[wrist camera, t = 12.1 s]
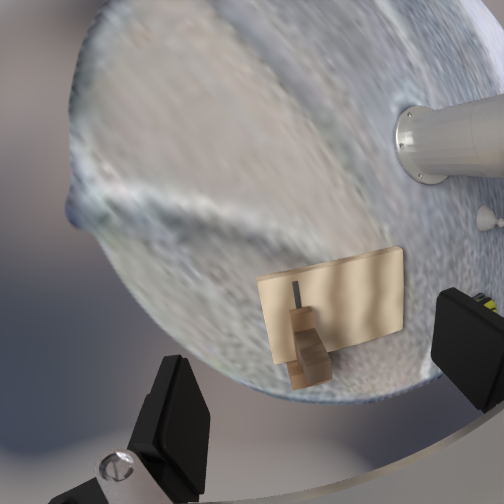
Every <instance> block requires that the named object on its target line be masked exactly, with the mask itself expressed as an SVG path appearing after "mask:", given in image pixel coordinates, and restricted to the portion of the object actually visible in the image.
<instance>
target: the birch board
mask: <svg viewBox="0 0 504 504" xmlns="http://www.w3.org/2000/svg"><path fill="white" fill-rule="evenodd" d="M256 279H257V285H258V289H259V294H260V299H261V304H262V309H263V313H264V318H265V323H266V328H267V333H268V338H269V342H270V347H271V352H272V357H273V362H274V365H275V364H280V363H285V362H289V361H294V360H297V359H296V352H295V346H294V340H293V333H292V327H291V321H290V315H289V310H293V309H298V308H302V307H307V306H310V307H311V309H312V311H313V316H314V324H315V329H316V331H317V333H318V335H319V337H320V339H321V341H322V343H323V345H324V347H325V349H326V351H327V352H331V351H335V350H338V349H342V348H345V347H349V346H352V345H356V344H359V343H363V342H366V341H369V340H372V339H376V338H379V337H382V336H385V335H388V334H391V333H394V332H397V331H400V330H402V327H403V296H404V277H403V249H401V248H399V247H397V246H394V247H390V248H386V249H382V250H378V251H373V252H369V253H365V254H360V255H356V256H352V257H347V258H343V259H338V260H334V261H330V262H325V263H320V264H316V265H311V266H307V267H302V268H297V269H293V270H288V271H283V272H279V273H274V274H269V275H264V276H259V277H256Z"/></svg>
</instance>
